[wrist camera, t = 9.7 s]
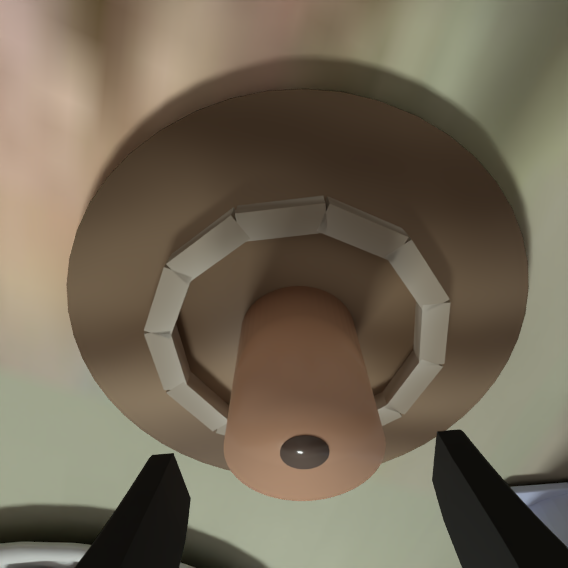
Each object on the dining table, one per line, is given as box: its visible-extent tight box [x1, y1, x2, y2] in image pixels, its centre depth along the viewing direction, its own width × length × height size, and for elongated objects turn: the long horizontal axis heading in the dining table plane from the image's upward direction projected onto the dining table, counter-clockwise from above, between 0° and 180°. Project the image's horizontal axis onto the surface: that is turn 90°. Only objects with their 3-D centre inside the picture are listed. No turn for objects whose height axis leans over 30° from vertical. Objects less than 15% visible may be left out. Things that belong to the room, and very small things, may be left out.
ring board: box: [67, 89, 528, 471], centre depth 16 cm, size 18×18×2 cm
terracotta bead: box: [224, 286, 386, 501], centre depth 14 cm, size 5×5×6 cm
